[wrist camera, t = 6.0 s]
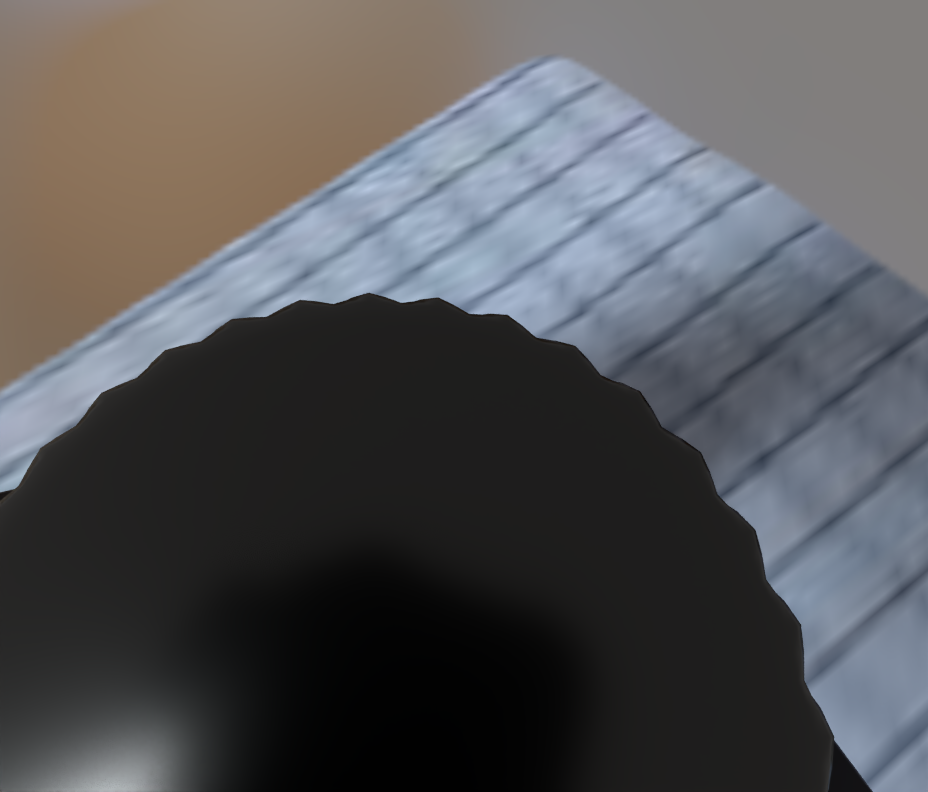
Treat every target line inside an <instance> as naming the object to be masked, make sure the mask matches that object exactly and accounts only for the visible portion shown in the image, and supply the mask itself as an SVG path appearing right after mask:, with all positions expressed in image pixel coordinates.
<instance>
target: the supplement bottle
mask: <svg viewBox="0 0 928 792" xmlns="http://www.w3.org/2000/svg"><path fill="white" fill-rule="evenodd" d="M833 749H834V735H833V733H832V731H831V729H830V727H829V725H828V723H827V721H826V719H825V716H824V714H823V712H822V710H821V708H820V707H819V705H818V704H817V703H816V701H815V700H814V698H813V697H812V696H811V694H810V691H809V689H808V687H807V685H806V683H805V681H804V648H803V639H802V630H801V624H800V623H799V621H798V620H797V618H796V617H795V615H794V614H793V613H792V611H791V610H790V608H789V607H788V605H787V604H786V603H785V601H784V600H783V599H782V598H781V597H780V596H779V595H778V594H777V593H776V592H775V591H774V590H773V588H772V587H771V586H770V584H769V583H768V581H767V580H766V576H765V570H764V564H763V558H762V552H761V549H760V545H759V542H758V538H757V534H756V531H755V529H754V528H753V527H752V526H751V525H750V524H749V523H748V522H747V521H746V520H745V519H744V518H743V517H742V516H741V515H740V514H739V513H738V512H737V511H735V510H734V509H733V508H731V507H730V506H728V505H727V504H726V503H725V502H724V501H723V500H722V499H721V498H720V497H719V496H718V494H717V491H716V488H715V485H714V482H713V479H712V477H711V474H710V471H709V469H708V467H707V465H706V462H705V460H704V458H703V456H702V454H701V452H700V451H698V450H697V449H695V448H694V447H693V446H691V445H690V444H688V443H687V442H686V441H684V440H683V439H681V438H679V437H678V436H676V435H674V434H673V433H671V432H669V431H667V430H666V429H664V428H662V427H661V425H660V423H659V421H658V419H657V417H656V415H655V414H654V412H653V410H652V408H651V407H650V405H649V404H648V402H647V401H646V399H645V398H644V396H643V395H642V393H641V392H640V391H638V390H636V389H634V388H632V387H630V386H627V385H625V384H623V383H621V382H616V381H612V380H610V379H608V378H606V377H604V376H602V375H600V374H599V372H598V371H597V370H596V369H595V367H594V366H593V365H592V364H591V362H590V361H589V360H588V359H587V358H586V357H585V356H584V355H583V354H582V352H581V351H580V350H579V349H578V348H577V347H576V346H574V345H570V344H566V343H562V342H558V341H553V340H547V339H541V338H536V337H535V336H533V335H532V334H531V333H530V332H529V331H528V330H527V329H525V328H524V327H523V326H522V325H521V324H519V323H518V322H516V321H515V320H514V319H512V318H511V317H510V316H508V315H501V314H484V315H478V314H468V313H467V312H465V311H463V310H462V309H460V308H458V307H456V306H455V305H453V304H451V303H449V302H447V301H444V300H442V299H440V298H430V299H421V300H418V301H415V302H406V303H400V302H397V301H394V300H392V299H389V298H386V297H383V296H379V295H375V294H371V293H366V294H363V295H359V296H356V297H352V298H350V299H348V300H346V301H343V302H339V303H336V304H329V303H323V302H317V301H306V300H299V301H297V302H294V303H292V304H290V305H288V306H286V307H284V308H282V309H280V310H278V311H277V312H275V313H273V314H271V315H269V316H267V317H249V318H239V319H231V320H230V321H228V322H227V323H225V324H224V325H222V326H221V327H219V328H218V329H216V330H215V332H214V333H212V334H211V335H209V336H208V337H207V338H205V339H204V340H202V341H201V342H196V343H192V344H187V345H182V346H179V347H175V348H171V349H168V350H165V351H164V352H163V353H162V354H161V355H159V356H158V357H157V358H156V359H155V360H154V361H153V362H152V363H151V364H150V365H149V367H148V368H147V369H146V370H145V371H144V372H143V373H142V374H140V375H139V376H138V377H137V378H135V379H133V380H130V381H128V382H125V383H123V384H120V385H118V386H116V387H113V388H111V389H109V390H107V391H105V392H103V393H101V394H100V395H99V397H98V398H97V399H96V400H95V401H94V403H93V404H92V405H91V406H90V407H89V409H88V411H87V413H86V414H85V415H84V416H83V418H82V419H81V420H80V421H79V423H78V424H77V425H76V426H75V427H73V428H71V429H70V430H68V431H66V432H65V433H63V434H61V435H60V436H58V437H56V438H55V439H53V440H52V441H51V442H49V443H48V444H46V445H45V446H43V447H42V448H40V450H39V452H38V453H37V455H36V456H35V458H34V460H33V461H32V463H31V465H30V466H29V468H28V470H27V472H26V474H25V475H24V477H23V479H22V481H21V483H20V484H19V486H18V487H17V488H16V489H14V490H13V491H12V492H11V493H9V494H8V495H7V496H6V497H4V498H3V499H2V500H1V501H0V792H828V789H829V783H830V778H831V772H832V766H833Z"/></svg>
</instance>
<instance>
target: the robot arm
mask: <svg viewBox="0 0 928 792" xmlns="http://www.w3.org/2000/svg"><path fill="white" fill-rule="evenodd" d="M13 490H14V489H13ZM13 490H9V491H5V492H1V493H0V501H1V500H2V499H3V498H4V497H6V496H7V495H8V494H9V493H11V492H12V491H13ZM828 792H873V791H872V790H871V789H870V787H869V786H868V785H867V783H866V782H865V781H864V779H863V778H862V777H861V775H860V774H859V773H858V771H857V770H856V769H855V767H854V766H853V765H852V763H851V762H850V761H849V759H848V758H847V757H846V755H845V754H844V753H843V751H842V750H841V749H840V747H839V746H838V745H837V743H836V742H835V741H834V749H833V766H832V772H831V778H830V783H829V789H828Z"/></svg>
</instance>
